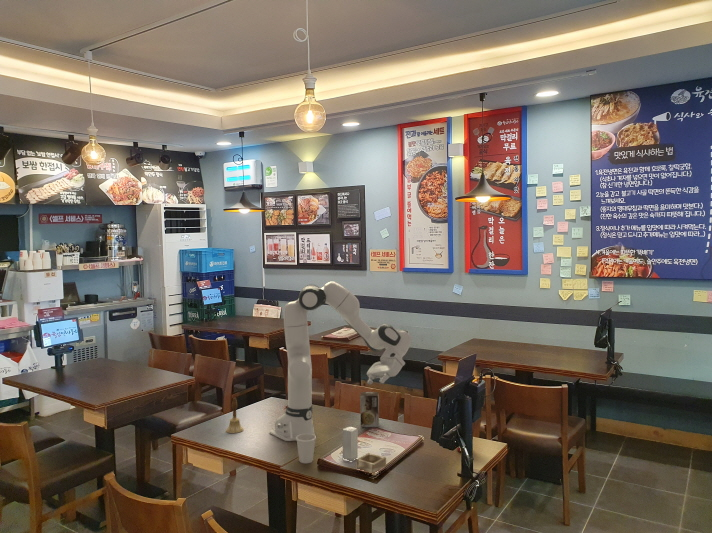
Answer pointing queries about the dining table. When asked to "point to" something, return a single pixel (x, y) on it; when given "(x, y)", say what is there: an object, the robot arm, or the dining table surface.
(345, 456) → the peg
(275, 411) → the dining table surface
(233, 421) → the hand bell
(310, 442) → the dixie cup
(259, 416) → the dining table surface
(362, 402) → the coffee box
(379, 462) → the box
